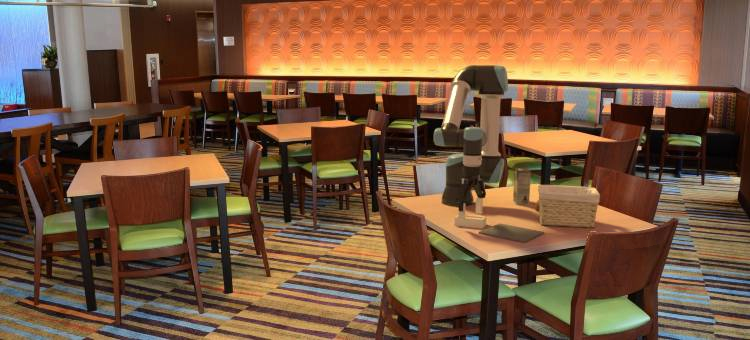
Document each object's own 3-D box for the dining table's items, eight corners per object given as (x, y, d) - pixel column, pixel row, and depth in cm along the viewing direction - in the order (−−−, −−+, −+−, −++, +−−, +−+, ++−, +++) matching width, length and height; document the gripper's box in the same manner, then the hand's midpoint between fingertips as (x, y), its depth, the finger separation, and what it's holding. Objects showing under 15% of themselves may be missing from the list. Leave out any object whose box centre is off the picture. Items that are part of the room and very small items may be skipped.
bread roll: (540, 221, 293) (545, 207, 289) (528, 206, 301) (533, 193, 296) (558, 219, 297) (564, 205, 292) (546, 205, 304) (551, 191, 300)
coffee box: (512, 200, 317) (513, 167, 314) (525, 200, 317) (527, 167, 314) (516, 204, 308) (517, 171, 305) (529, 204, 308) (531, 171, 305)
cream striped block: (454, 226, 271) (454, 216, 271) (458, 222, 277) (458, 213, 276) (482, 229, 267) (483, 219, 266) (486, 225, 272) (486, 216, 271)
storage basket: (593, 219, 282) (595, 186, 279) (598, 229, 266) (601, 194, 263) (535, 217, 286) (537, 183, 283) (538, 226, 270) (540, 191, 268)
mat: (478, 233, 260) (478, 231, 260) (499, 224, 273) (499, 223, 272) (524, 242, 247) (524, 241, 247) (544, 233, 260) (544, 231, 260)
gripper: (463, 169, 255) (462, 222, 259) (495, 162, 274) (493, 212, 278) (447, 167, 260) (446, 219, 263) (479, 160, 279) (478, 209, 282)
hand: (470, 215), depth 271 cm, fingers open, 13 cm apart
